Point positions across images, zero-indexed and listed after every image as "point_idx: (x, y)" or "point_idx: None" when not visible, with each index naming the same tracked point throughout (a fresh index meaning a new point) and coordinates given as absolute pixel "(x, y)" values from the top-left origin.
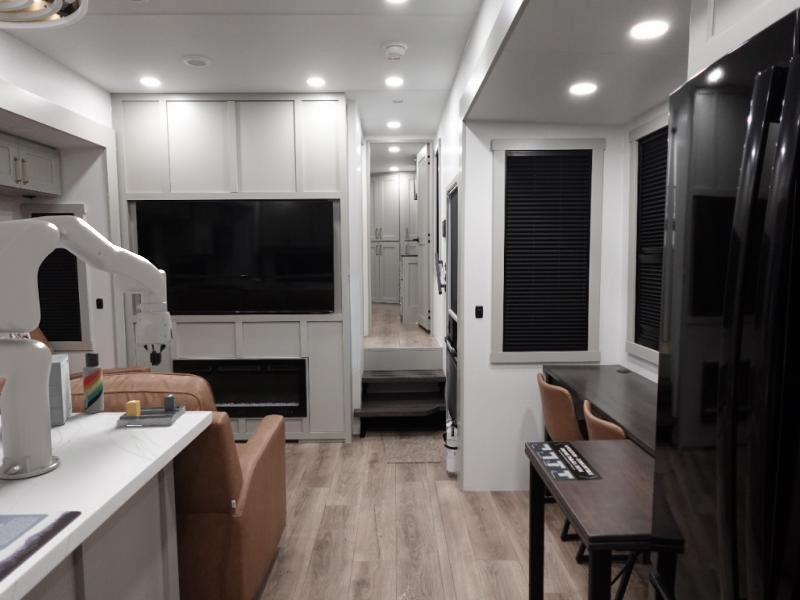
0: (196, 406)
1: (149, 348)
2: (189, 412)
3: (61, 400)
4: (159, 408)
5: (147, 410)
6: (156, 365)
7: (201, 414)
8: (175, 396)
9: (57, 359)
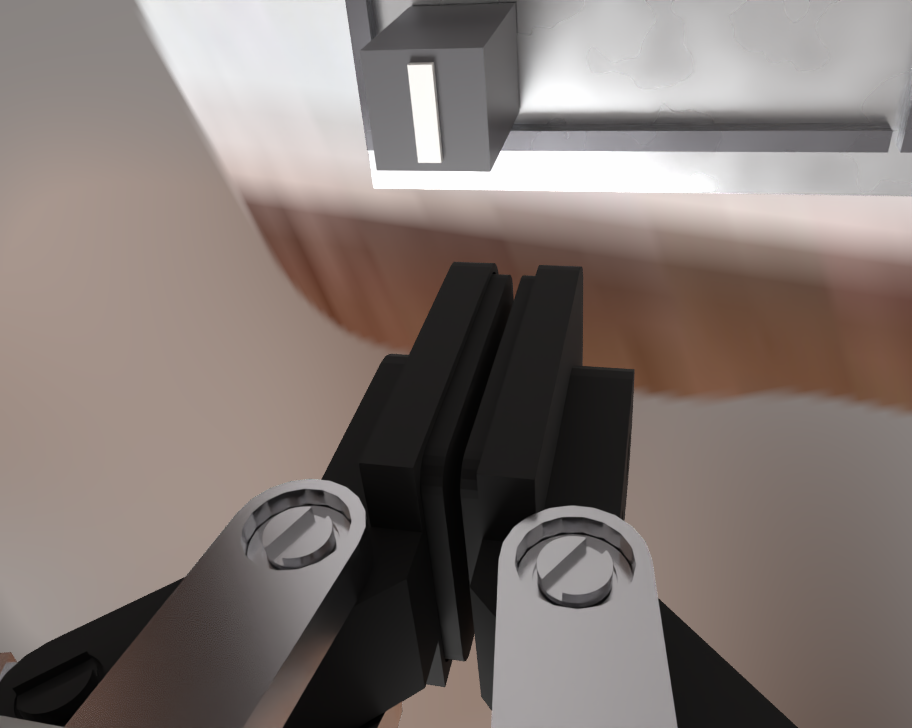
0: (373, 330)
1: (588, 675)
2: (351, 151)
3: None
4: (612, 125)
5: None
6: (469, 263)
7: (208, 67)
8: (372, 119)
9: None
